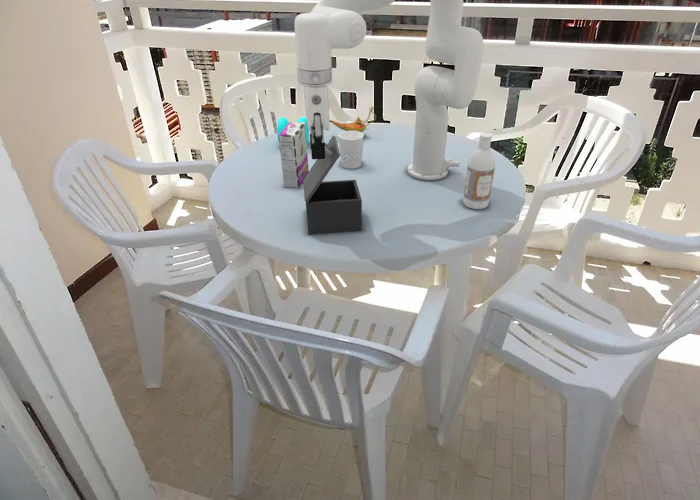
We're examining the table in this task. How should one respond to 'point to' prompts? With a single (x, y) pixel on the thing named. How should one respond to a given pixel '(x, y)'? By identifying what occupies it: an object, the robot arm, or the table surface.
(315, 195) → the dark grey storage bin
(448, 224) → the table surface
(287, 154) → the candy bar box
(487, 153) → the bath foam
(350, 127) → the magic lamp
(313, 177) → the brewer lid
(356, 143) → the white cup
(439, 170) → the robot arm
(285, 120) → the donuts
